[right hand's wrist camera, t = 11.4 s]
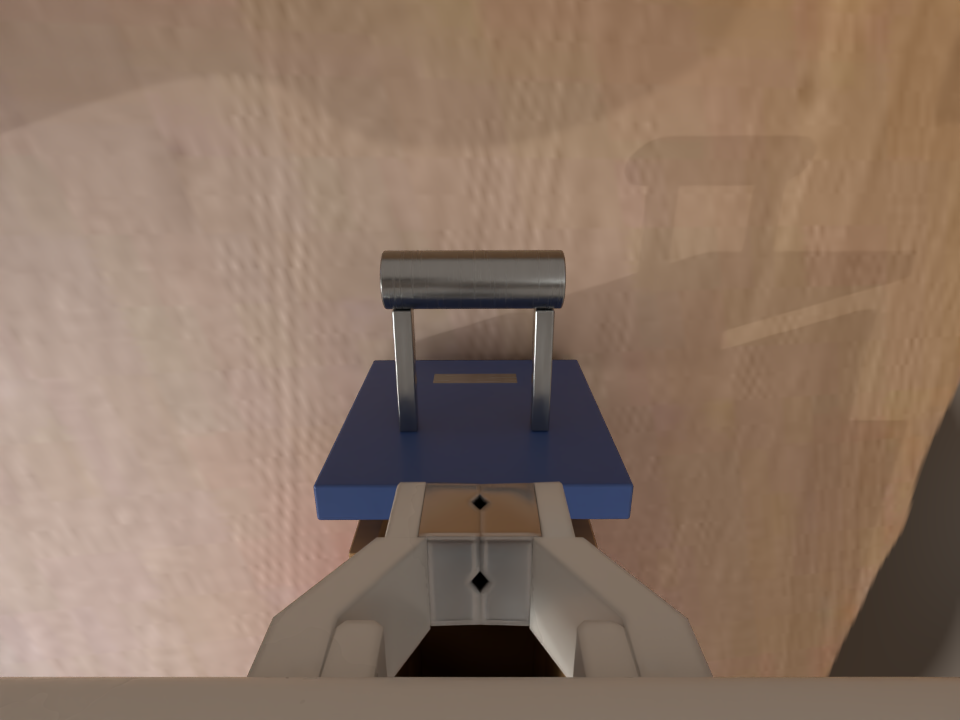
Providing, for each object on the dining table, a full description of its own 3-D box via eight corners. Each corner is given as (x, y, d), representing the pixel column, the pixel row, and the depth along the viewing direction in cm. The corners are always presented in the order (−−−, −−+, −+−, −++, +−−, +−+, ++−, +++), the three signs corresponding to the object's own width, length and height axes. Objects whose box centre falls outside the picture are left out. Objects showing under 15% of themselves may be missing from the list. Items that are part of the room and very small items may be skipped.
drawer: (363, 222, 23) (285, 276, 14) (586, 222, 23) (658, 275, 14) (398, 684, 32) (366, 900, 23) (556, 684, 32) (587, 899, 23)
